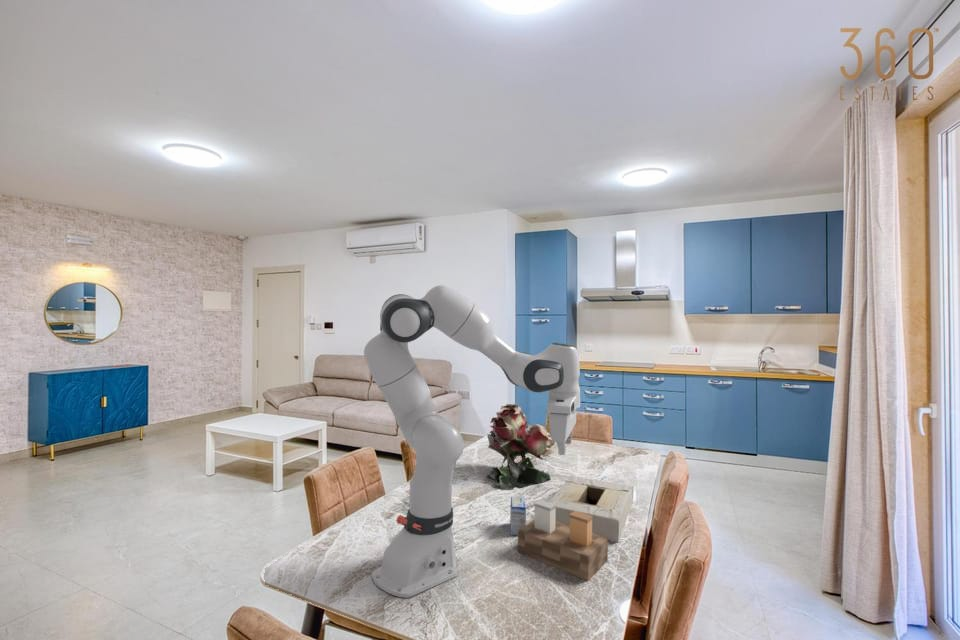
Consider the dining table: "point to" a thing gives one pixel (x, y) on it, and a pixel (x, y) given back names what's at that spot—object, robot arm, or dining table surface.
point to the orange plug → (581, 528)
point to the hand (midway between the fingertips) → (565, 448)
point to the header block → (563, 550)
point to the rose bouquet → (517, 448)
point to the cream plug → (545, 516)
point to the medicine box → (517, 514)
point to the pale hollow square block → (605, 513)
